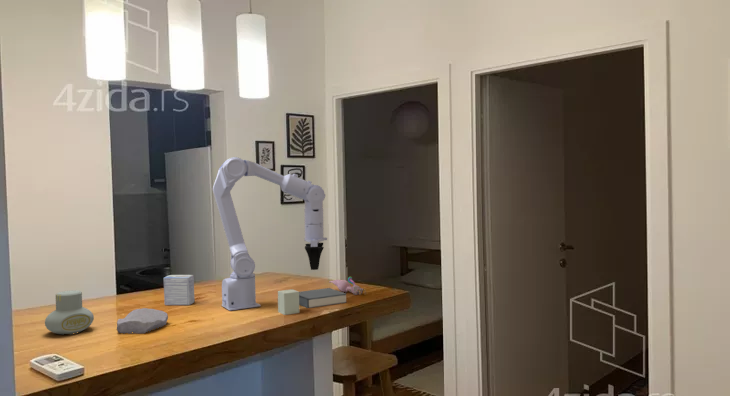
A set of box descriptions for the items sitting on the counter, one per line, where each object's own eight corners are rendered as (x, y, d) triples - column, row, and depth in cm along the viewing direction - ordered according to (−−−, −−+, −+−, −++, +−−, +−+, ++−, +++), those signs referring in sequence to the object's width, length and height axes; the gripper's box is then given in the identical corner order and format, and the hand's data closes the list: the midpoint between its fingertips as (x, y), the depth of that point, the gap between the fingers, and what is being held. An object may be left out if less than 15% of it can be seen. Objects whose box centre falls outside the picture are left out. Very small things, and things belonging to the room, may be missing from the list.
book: (307, 309, 165) (307, 298, 165) (291, 302, 174) (291, 292, 174) (346, 303, 172) (346, 293, 171) (329, 297, 181) (329, 287, 181)
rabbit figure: (369, 297, 185) (336, 285, 194) (370, 280, 184) (338, 268, 194) (355, 301, 180) (323, 288, 190) (357, 283, 179) (325, 270, 189)
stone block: (170, 328, 152) (133, 321, 152) (173, 311, 152) (136, 304, 152) (152, 343, 140) (112, 335, 140) (154, 324, 140) (115, 316, 140)
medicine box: (195, 302, 176) (194, 274, 175) (189, 305, 171) (188, 277, 171) (170, 302, 176) (169, 274, 176) (164, 305, 172) (163, 277, 172)
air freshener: (52, 339, 136) (50, 298, 136) (40, 333, 142) (39, 293, 142) (99, 330, 144) (97, 291, 144) (86, 324, 150) (84, 287, 150)
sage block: (284, 315, 157) (284, 293, 157) (278, 312, 161) (277, 291, 161) (299, 312, 159) (298, 291, 159) (292, 309, 163) (292, 289, 163)
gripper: (327, 225, 168) (328, 271, 168) (326, 221, 183) (327, 263, 183) (303, 225, 167) (304, 271, 168) (304, 222, 182) (305, 264, 182)
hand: (314, 267), depth 175 cm, fingers open, 7 cm apart
